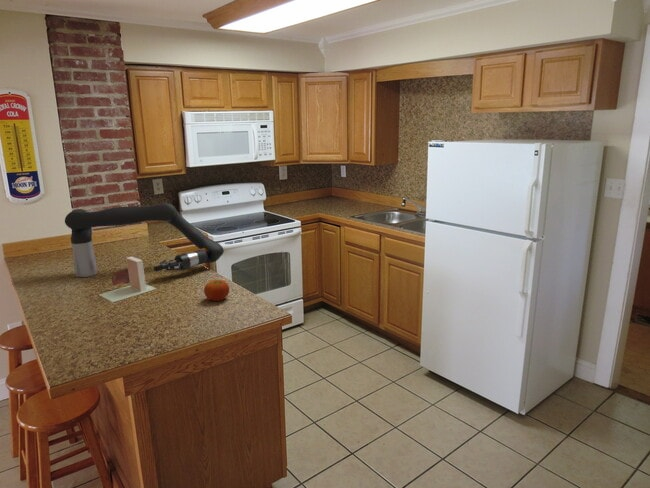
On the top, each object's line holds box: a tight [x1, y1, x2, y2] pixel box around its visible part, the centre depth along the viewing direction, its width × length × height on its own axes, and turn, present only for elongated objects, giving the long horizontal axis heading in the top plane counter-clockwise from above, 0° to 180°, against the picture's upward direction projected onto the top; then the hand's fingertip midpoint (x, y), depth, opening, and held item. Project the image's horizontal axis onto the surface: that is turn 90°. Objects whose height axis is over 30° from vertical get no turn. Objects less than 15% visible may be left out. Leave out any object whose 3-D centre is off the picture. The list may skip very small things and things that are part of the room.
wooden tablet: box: [112, 268, 130, 286], centre depth 229 cm, size 27×10×2 cm, turn 22°
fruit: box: [203, 279, 230, 302], centre depth 196 cm, size 11×10×8 cm
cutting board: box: [98, 284, 157, 303], centre depth 207 cm, size 20×14×1 cm
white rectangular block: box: [126, 256, 146, 292], centre depth 209 cm, size 3×10×14 cm, turn 48°
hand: (154, 269), depth 215 cm, fingers closed
